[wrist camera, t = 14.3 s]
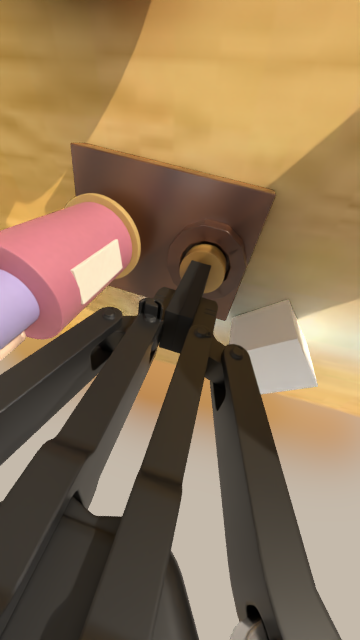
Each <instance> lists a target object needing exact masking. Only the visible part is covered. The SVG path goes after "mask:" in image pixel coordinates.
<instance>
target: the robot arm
mask: <svg viewBox="0 0 360 640" xmlns="http://www.w3.org/2000/svg"><path fill="white" fill-rule="evenodd" d="M210 269H211V265H207V264H204V263H200V262H197V261H193V260H191V262H190V264H189V266H188V268H187V270H186V272H185V274H184V276H183V278H182V279H181V281H180V283H179V285H178V287H177V289H176V290H174V289H170V288H167V287H162V288H161V289H159V290H158V291H157V293H156V295H155V296H154V297H153V298H145V299H142V300H141V301H139V311H138V315H137V316H122V312H121V311H120V310H119V309H117V308H114V307H105V308H102V309H100V310H98V311H97V312H95V313H94V314H92V315H91V316H89V317H87V318H86V319H84V320H83V321H81V322H80V323H78V324H77V325H75V326H74V327H72V328H71V329H69V330H68V331H66V332H65V333H63V334H62V335H60V336H59V337H57V338H56V339H54V340H53V341H51V342H50V343H48V344H47V345H45V346H44V347H42V348H41V349H39V350H38V351H36V352H35V353H33V354H32V355H30V356H28V357H27V358H25V359H24V360H22V361H21V362H19V363H18V364H16V365H15V366H13V367H12V368H10V369H9V370H7V371H6V372H4V373H3V374H1V375H0V465H1V464H2V463H4V462H5V461H6V460H7V459H8V458H9V457H10V456H11V455H12V454H13V453H14V452H15V451H16V450H17V449H18V448H20V447H21V446H22V445H23V444H24V443H25V442H26V441H27V440H28V439H29V438H30V437H31V436H32V435H33V434H34V433H36V432H37V431H38V430H39V429H40V428H41V427H42V426H43V425H44V424H45V423H46V422H47V421H48V420H49V419H50V418H51V417H52V416H54V415H55V414H56V413H57V412H58V411H59V410H60V409H61V408H62V407H63V406H64V405H65V404H66V403H67V402H69V401H70V400H71V399H72V398H73V397H74V396H75V395H76V394H77V393H78V392H79V391H80V390H81V389H82V388H83V387H84V386H85V385H86V384H88V383H89V382H90V381H91V380H92V379H93V378H94V377H95V376H96V375H97V374H98V373H99V374H98V375H97V377H96V378H95V380H94V381H93V383H92V384H91V386H90V387H89V389H88V390H87V392H86V393H85V395H84V396H83V398H82V399H81V401H80V402H79V403H78V405H77V406H76V408H75V409H74V411H73V413H72V414H71V415H70V417H69V419H68V420H67V422H66V423H65V425H64V426H63V427H62V429H61V431H60V432H59V433H58V435H57V436H56V437H55V438H54V439H51V440H49V441H47V442H46V443H45V444H43V445H42V447H41V448H40V449H39V451H38V452H37V453H36V454H35V456H34V457H33V459H32V460H31V461H30V463H29V464H28V466H27V467H26V469H25V470H24V472H23V473H22V474H21V476H20V477H19V479H18V480H17V482H16V483H15V485H14V486H13V487H12V489H11V490H10V492H9V493H8V494H7V496H6V497H5V499H4V500H3V501H2V502H0V640H199V638H198V634H197V630H196V626H195V622H194V619H193V615H192V611H191V607H190V604H189V600H188V596H187V592H186V588H185V585H184V581H183V577H182V574H181V571H180V568H179V566H178V563H177V561H176V559H175V557H174V555H173V553H172V552H171V546H172V541H173V537H174V531H175V526H176V522H177V517H178V512H179V507H180V502H181V496H182V482H183V476H184V472H185V466H186V462H187V458H188V453H189V448H190V443H191V439H192V434H193V429H194V424H195V420H196V415H197V410H198V406H199V401H200V396H201V391H202V387H203V382H204V377H205V378H207V379H208V380H210V388H211V398H212V408H213V418H214V427H215V437H216V447H217V457H218V467H219V476H220V487H221V497H222V507H223V517H224V527H225V537H226V547H227V556H228V565H229V572H230V580H231V587H232V591H233V596H234V601H235V606H236V610H237V615H238V618H239V623H238V625H237V626H236V627H235V628H234V630H233V632H232V634H231V637H230V640H341V638H340V636H339V634H338V632H337V630H336V628H335V626H334V624H333V622H332V620H331V618H330V616H329V614H328V612H327V610H326V608H325V606H324V604H323V602H322V600H321V598H320V596H319V594H318V592H317V590H316V587H315V583H314V580H313V576H312V573H311V570H310V566H309V562H308V559H307V555H306V552H305V549H304V545H303V542H302V538H301V534H300V531H299V527H298V524H297V520H296V517H295V513H294V510H293V506H292V503H291V500H290V496H289V492H288V489H287V485H286V482H285V478H284V475H283V471H282V468H281V464H280V461H279V457H278V454H277V450H276V447H275V443H274V440H273V436H272V433H271V429H270V426H269V422H268V419H267V415H266V412H265V408H264V405H263V402H262V398H261V394H260V391H259V387H258V384H257V380H256V377H255V373H254V370H253V366H252V363H251V359H250V356H249V354H248V352H247V351H246V350H245V349H244V348H243V347H241V346H240V345H236V344H229V345H227V346H224V345H223V344H221V343H220V342H218V341H217V340H216V339H215V337H214V335H213V329H214V325H215V320H216V315H217V311H218V305H217V302H216V301H213V300H210V299H206V298H203V293H204V290H205V286H206V283H207V279H208V276H209V272H210ZM159 342H160V343H159ZM158 345H159V347H161V348H164V349H168V350H171V351H174V352H177V353H180V356H179V359H178V362H177V365H176V368H175V371H174V374H173V377H172V379H171V382H170V385H169V388H168V391H167V394H166V397H165V400H164V402H163V405H162V408H161V411H160V414H159V417H158V419H157V423H156V425H155V428H154V431H153V434H152V437H151V439H150V442H149V445H148V448H147V451H146V454H145V457H144V460H143V462H142V465H141V468H140V470H139V472H138V475H137V477H136V480H135V482H134V485H133V488H132V491H131V493H130V497H129V499H128V502H127V505H126V508H125V510H124V513H123V516H122V517H115V516H114V517H113V516H95V515H93V514H92V513H91V512H89V511H88V508H89V505H90V503H91V501H92V498H93V496H94V493H95V491H96V487H97V484H98V480H99V478H100V475H101V473H102V471H103V469H104V466H105V464H106V462H107V460H108V458H109V455H110V453H111V451H112V449H113V447H114V444H115V442H116V440H117V438H118V436H119V433H120V431H121V429H122V427H123V425H124V423H125V420H126V418H127V416H128V414H129V412H130V410H131V407H132V405H133V403H134V401H135V398H136V396H137V394H138V392H139V390H140V388H141V385H142V383H143V381H144V379H145V377H146V375H147V372H148V370H149V368H150V366H151V363H152V361H153V359H154V357H155V355H156V351H157V347H158Z"/></svg>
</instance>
